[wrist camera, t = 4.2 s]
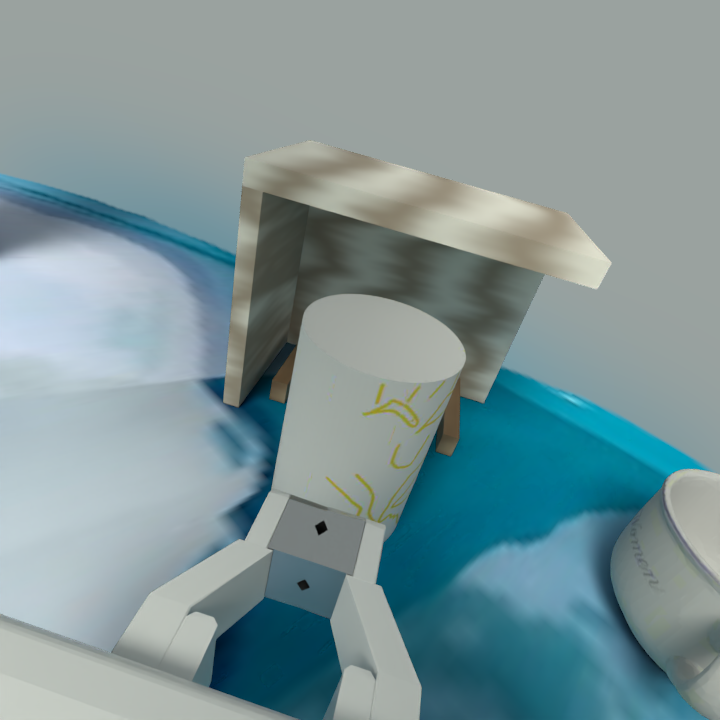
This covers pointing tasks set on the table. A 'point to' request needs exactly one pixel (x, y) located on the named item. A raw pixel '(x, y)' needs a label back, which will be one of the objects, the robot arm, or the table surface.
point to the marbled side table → (389, 260)
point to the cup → (364, 404)
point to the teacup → (676, 584)
